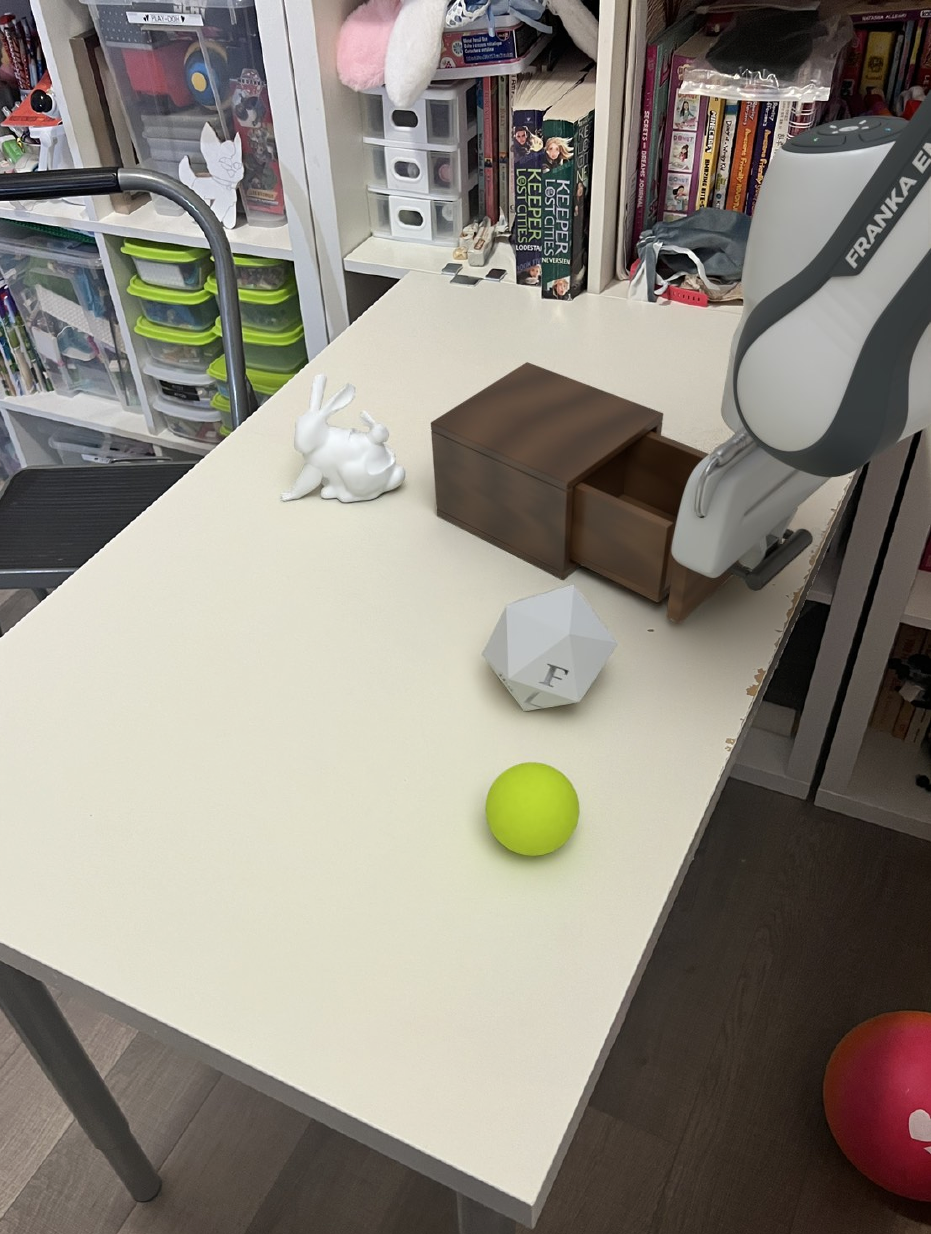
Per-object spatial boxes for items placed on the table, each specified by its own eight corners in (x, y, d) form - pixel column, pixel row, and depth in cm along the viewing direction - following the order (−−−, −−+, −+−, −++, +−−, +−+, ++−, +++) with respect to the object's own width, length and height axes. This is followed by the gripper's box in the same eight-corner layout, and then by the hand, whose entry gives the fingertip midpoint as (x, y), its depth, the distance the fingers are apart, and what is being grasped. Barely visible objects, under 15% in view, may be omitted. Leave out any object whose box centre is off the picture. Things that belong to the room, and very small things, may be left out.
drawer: (814, 576, 82) (836, 494, 76) (735, 651, 77) (752, 570, 71) (625, 493, 92) (632, 415, 86) (543, 556, 87) (545, 477, 81)
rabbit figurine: (277, 502, 97) (258, 410, 90) (298, 457, 102) (281, 367, 95) (400, 507, 95) (391, 414, 88) (415, 461, 100) (408, 369, 93)
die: (462, 699, 79) (492, 676, 69) (494, 591, 80) (528, 553, 70) (566, 733, 79) (610, 715, 69) (596, 625, 81) (643, 593, 71)
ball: (579, 805, 70) (583, 746, 65) (574, 878, 66) (578, 821, 62) (491, 797, 71) (490, 740, 67) (481, 869, 67) (479, 813, 63)
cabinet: (652, 509, 91) (663, 412, 84) (563, 580, 86) (567, 483, 79) (526, 454, 99) (526, 361, 92) (436, 515, 94) (430, 422, 87)
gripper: (748, 480, 62) (716, 648, 72) (913, 344, 71) (864, 510, 81) (659, 445, 65) (641, 611, 75) (828, 319, 74) (791, 482, 84)
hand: (758, 558), depth 78 cm, fingers closed
